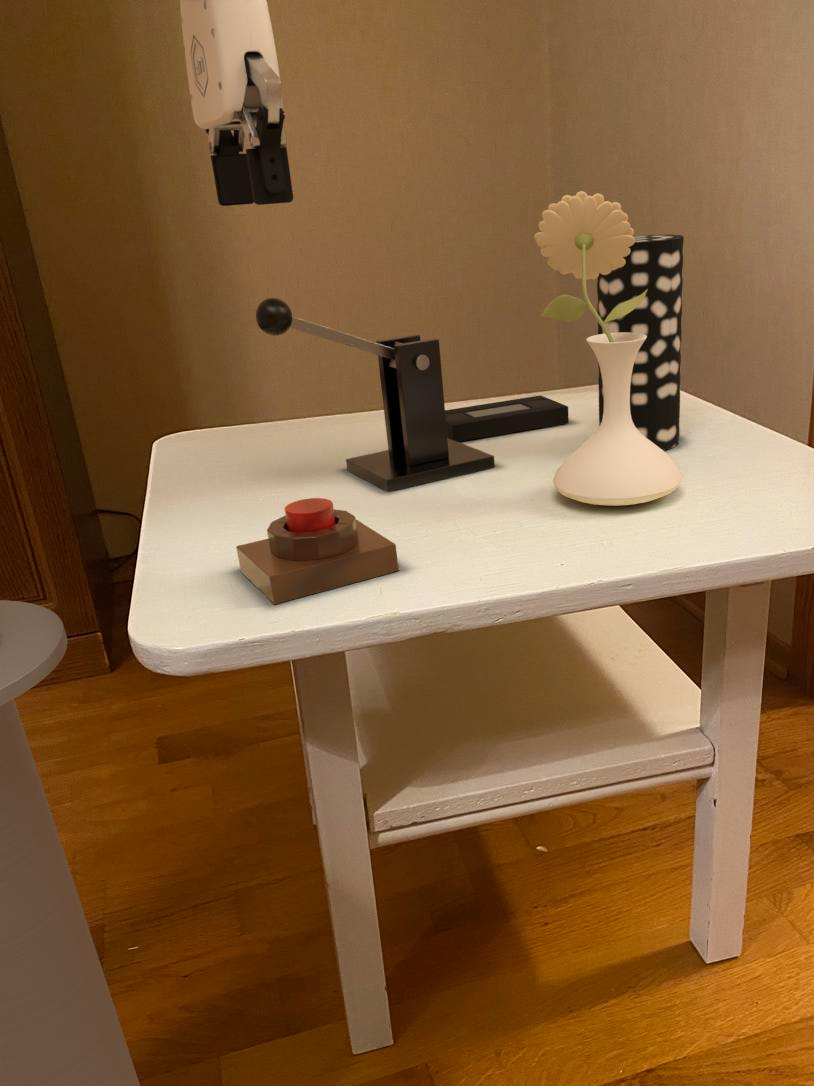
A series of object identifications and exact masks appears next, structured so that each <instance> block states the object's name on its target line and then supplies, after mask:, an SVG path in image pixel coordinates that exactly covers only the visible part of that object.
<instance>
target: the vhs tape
mask: <svg viewBox="0 0 814 1086" xmlns="http://www.w3.org/2000/svg"><path fill="white" fill-rule="evenodd" d="M445 417H446V429H447V438H449V439H452V440H454V441H457V442H459V443H460V442H465V441H470V440H476V439H481V438H482V439H483V438H488V437H494V436H499V435H505V434H512V433H518V432H523V431H529V430H535V429H541V428H547V427H552V426H553V427H554V426H559V425H565V424H569V423H570V422H569V406H568V405H566V404H564V403H561V402H559V401H556V400H553V399H551V398H549V397H546V396H543V395H534V396H527V397H520V398H514V399H508V400H501V401H495V402H488V403H483V404H476V405H471V406H464V407H457V408H451V409H445Z"/></svg>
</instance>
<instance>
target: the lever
mask: <svg viewBox="0 0 814 1086" xmlns="http://www.w3.org/2000/svg"><path fill="white" fill-rule="evenodd" d="M255 320H256V324H257V326H258V327H259V329H260V330H261V331H262V332H263V333H265V334H267V335H269V336H273V337H275V336H276V337H277V336H282V335H284V334H285V333H287V332H288V330H289V329H292V330H296V331H299V332H302V333H305V334H309V335H312V336H314V337H317V338H321V339H324V340H328V341H331V342H334V343H337V344H341V345H344V346H347V347H351V348H352V349H357V350H360V351H363V352H366V353H370V354H373V355H377V356H378V355H379V356H383V357H386V358H389V359H391V360H390V363H389V366H390V367H393V368H396V362H395V353H394V348H391V347H387V346H384V345H381V344H378V343H376V342H374V341H371V340H368V339H365V338H362V337H359V336H356V335H352V334H349V333H346V332H343V331H340V330H337V329H334V328H330V327H327V326H324V325H321V324H317V323H315V322H312V321H308V320H305V319H301V318H299V317H295V316H293V313H292V309H291V308H290V306H289V305H288V304H287V303H286V302H285V301H284V300H282V299H280V298H278V297H269V298H266V299H263V300H262V301H260V303H259V304H258V306H257V308H256V311H255ZM397 344H403V343H399V342H395V344H394V345H397Z"/></svg>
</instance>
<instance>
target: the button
mask: <svg viewBox="0 0 814 1086" xmlns="http://www.w3.org/2000/svg"><path fill="white" fill-rule="evenodd" d="M334 509H335V508H334V503H333V501H332V500H330V499H328V498H324V497H323V498H321V497H313V498H304V499H299V500H295V501H293V502H290V503H288V504H287V505H285V507H284V513H285V514H284V515H286V520H287V526H288V531H290V532H297V533H304V532H316V531H320V530H324V529H328V528H330V527H332V526H334V525H336V523H335V516H334Z"/></svg>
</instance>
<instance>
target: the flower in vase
mask: <svg viewBox="0 0 814 1086" xmlns="http://www.w3.org/2000/svg"><path fill="white" fill-rule="evenodd" d="M541 217H542V219H543V220H541V221H540V222H538V224H537V225H538V229H539V231H538V232H536V233H535V234H534V241H535V242H536V245H537V246H538V247H539V248H540V251H539V253H540V254H541V256H542V257H544V258H548V259H547V261H546V263H547V265H548V266H549V267H551V269H553V271H557V272H559V274H561V275H568V274H573V277H574V278H575V279H577V280H581V282H582V283H581V285H582V295H583V298H584V300H583V299H581V298H578V297H575V296H573V295H569V294H560V295H558V296H556V297H555V298H553V299H552V300H551V301H550V302H548V303H549V304H547V306H546V307H545V308H544V310H543V311H542V312H541V314H540V318H546V319H553V320H557V321H562V322H568V323H569V322H570V323H575V322H577V321H579V320H580V318H582V316H583V315H584V313H585V312H586V311H587V310H588V309H589V311H590V312H591V314H592V315H593V317H594V318H595V320H596V322H597V324H598V323H599V324H600V325H601V327H602V329H603V330H604V332H605V334H599V335H598V334H594V335H591V336H588V337H587V338H586V339H585V341H586V343H587V344H588V346H590V347H591V349H592V351H593V354H594V355H595V357H596V360H597V363H598V362H599V366H600V370H601V375H602V382H603V393H604V412H603V418H602V422H601V425H600V427H599V426H598V428H597V430H596V431H595V432H594V433H593V434H592V436H590V437H589V438H588V439H587V440H586V441H585V442H584V443H583V444H581V445H580V446H579V447H577V449H575V450H574V451H573V452H572V453H571V454H570V455H569V456H568V457H566V459H564V460H563V462H562V463H561V464H560V465H559V466H558V468H557V469H556V471H555V474H554V477H553V478H552V479H553V480H552V483H553V485H554V487H555V488H556V489H557V491H558V492H559V493H560V494H561V495H563V496H564V497H566V498H568V499H572V500H574V501H576V502H577V501H578V502H581V503H585V504H589V505H595V506H615V507H616V506H630V505H637V504H645V503H648V502H651V501H652V502H653V501H655V500H657V499H659V498H663V497H665V496H668V495H670V494H671V493H673V492H674V491H676V490H677V488H678V487H679V486H680V484H681V483H682V481H683V480H684V479H683V478H684V477H683V473H682V471H681V468H680V465H679V464H678V462H676V461H675V460H674V458H673V457H671V456H670V455H669V454H668V453H667V452H666V451H665V450H664V451H663V450H662V449H660V448H659V447H658V446H657V445H655V444H654V443H653V442H651V441H650V440H649V439H647V438H646V437H645V436H644V435H642V434H641V433H640V432H639V431H638V429H637V428H636V427H635V426H634V423H633V421H632V418H631V413H630V384H631V376H632V370H633V365H634V361H635V358H636V355H637V353H638V351H639V349H640V347H641V345H642V344H643V342H644V341H645V340H646V338H647V336H646V335H645V334H641V333H631V332H619V333H610V332H609V330H608V329H607V327H606V325H605V324H604V322H609V321H612V320H615V319H618V318H620V317H623V316H625V315H626V314H628V313H630V312H631V311H632V310H634V309H635V308H636V307H637V306H638V305H639V304H640V303H641V301H642V300H643V298H644V297H645V295H646V292H647V290H648V289H647V290H646V291H645V292H643V293H642V294H641V295H639V296H637V297H635V298H633V299H630V300H628V301H625V302H623V303H621V304H619V305H618V306H616V307H615V308H614V309H613V310H612V311H611V313H610V314H609V315H608V316H607V318H606V319H605V321H604V322H603V321H602V319H601V318H600V317H599V315H598V314H597V310H596V308H595V307H594V305H592V303H591V300H590V298H589V295H588V291H587V280H597V277H598V276H599V273H601V274H603V275H607V274H609V273H610V272H611V270H615V269H617V268H620V267H622V266H624V265H625V263H626V261H625V259H624V258H623V257H625V256H628V255H629V254H630V248H629V247H630V246H632V245H633V244H634V243H635V238H634V237H633V236H634V233H635V231H634V228H632V227H631V223H630V222H629V215H628V213H626V212H624V211H623V210H622V204H621V203H619V202H617V201H614V202H611V201H609V200H607V201H605V197H604V195H603V194H601V193H595V194H594V195H588V194H587V192H585V191H582V190H580V191H578V192H576V194H575V195H572V196H571V195H570V194H564V195H563V196H562V197H561V199H560V200H559V201H558V202H556V203H553V202H552V203H550V204H549V205H548V207H547V209H545V210H543V211H542V213H541Z"/></svg>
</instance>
